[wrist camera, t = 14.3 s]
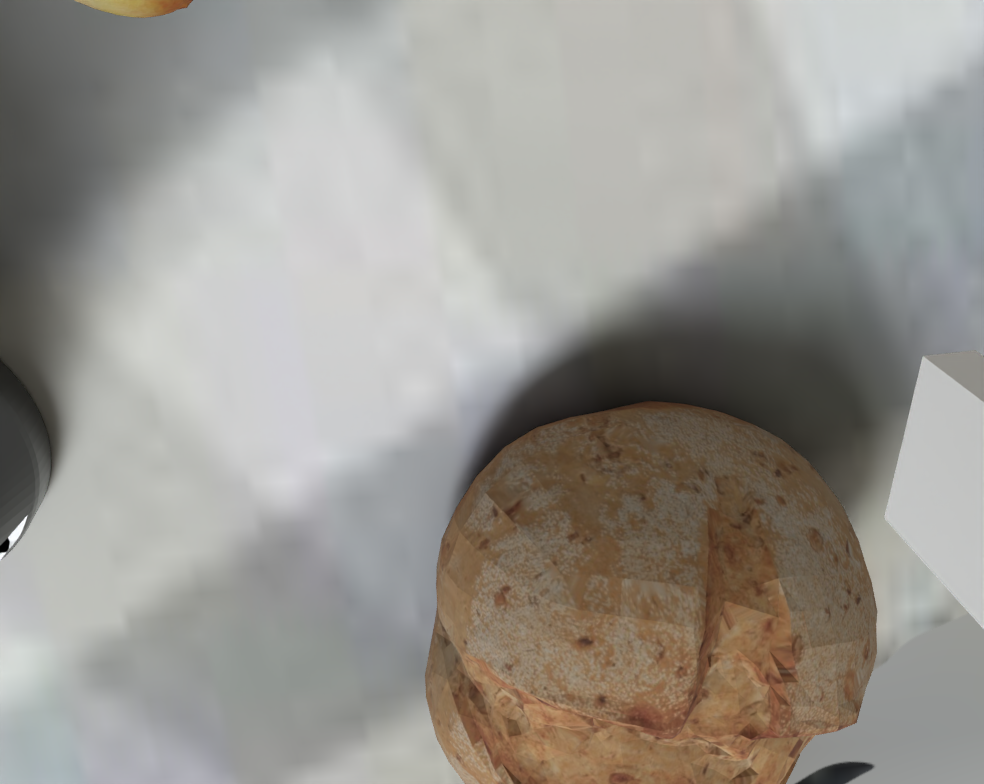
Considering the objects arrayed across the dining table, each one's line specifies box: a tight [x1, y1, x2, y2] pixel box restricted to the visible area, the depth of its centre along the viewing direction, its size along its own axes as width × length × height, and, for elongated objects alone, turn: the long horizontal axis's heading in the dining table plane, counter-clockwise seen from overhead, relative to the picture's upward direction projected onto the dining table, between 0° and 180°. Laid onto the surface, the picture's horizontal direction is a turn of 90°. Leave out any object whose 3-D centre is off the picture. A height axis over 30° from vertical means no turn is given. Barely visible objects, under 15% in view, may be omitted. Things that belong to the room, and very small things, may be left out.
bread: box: [425, 401, 877, 784], centre depth 45 cm, size 26×23×15 cm
